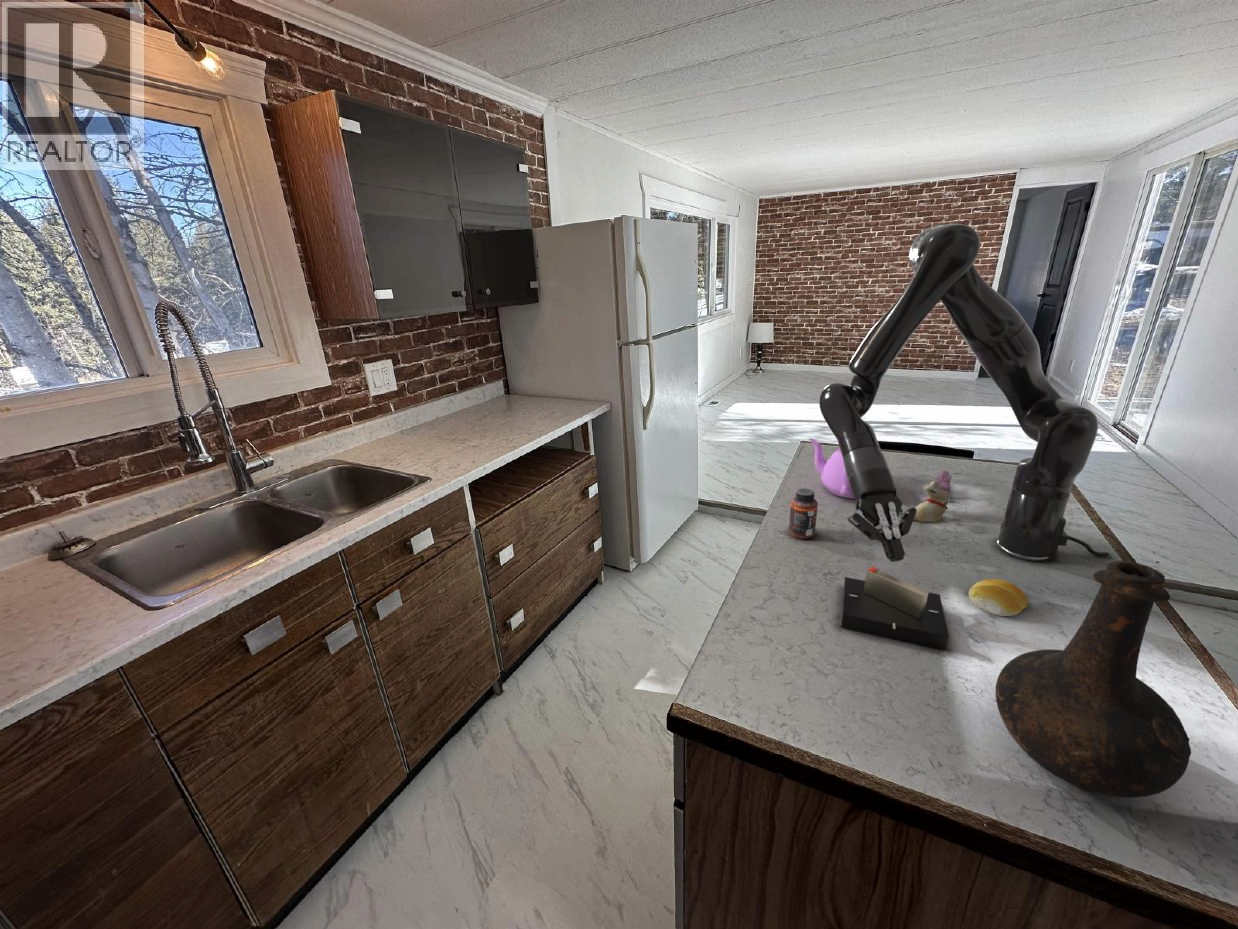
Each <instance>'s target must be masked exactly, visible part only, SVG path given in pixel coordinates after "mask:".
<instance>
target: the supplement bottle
mask: <svg viewBox="0 0 1238 929" xmlns="http://www.w3.org/2000/svg"><path fill="white" fill-rule="evenodd" d="M818 505H819V503H818V500H816V499H815V491H814V490H812V489H811V488H805V487H802V488H801V487H800V488H798V489H796V493H795V496H794V497H792V498H791V501H790V510H789V525H788V532H789V534H790V535H791V536H792V537H794V538H797V539H801V540H806V539H807V540H808V539H811V538H813V537H814V536H815V534H816V525H817V516H818Z"/></svg>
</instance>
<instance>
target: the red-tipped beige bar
mask: <svg viewBox="0 0 1238 929" xmlns="http://www.w3.org/2000/svg"><path fill="white" fill-rule="evenodd" d="M865 573H866V574H865V580H864V581H865V586H864V593H865V594H867V595H869V596H872V597H874V598H876V599H878V600H880V601H882V602H884V603H886V604H888V605H890V606H892V607H894V608H896V609H898V610H901V611H903V612H905V613H907V614H909V615H911V616H913V617H915V618H917V619H920V618H922V617H923V616H924V611H925V607H926V602H927V597H928V592H929V591H927V590H925V589H922V588H921V587H918V586H916V585H914V584H912V583H909V582H907V581H904V580H901V579H899V578H897V577H895V576H892V574H891V575H890V574H888V573H885V572H884V571H881V570H879V569H878V568H876V567H874V566H871V567H869V568H868V569H866V572H865Z"/></svg>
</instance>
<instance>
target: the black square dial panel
mask: <svg viewBox="0 0 1238 929" xmlns="http://www.w3.org/2000/svg"><path fill="white" fill-rule="evenodd" d="M843 583H844V584H843V591H842V608H841V624H840V628H841V629H846V630H850V631H855V632H859V633H860V632H861V633H862V634H863V633H864V634H867V635H874V636H877V637H882V638H885V639H886V638H887V639H891V640H895V641H900V642H903V643H908V644H913V645H918V646H923V647H926V648H931V649H936V650H940V651H944V652H945V651H946V650H947V647H948V642H949V638H950V635H949V631H948V626H947V622H946V617H945V612H944V608H943V602H942V599H941V598H942V597H941V594H940V593H934V592H929V591H927V592H928V597H927V602H926V607H925V611H924V616H923V617H922V618H920V619H917V618H915V617H913V616H911V615H909V614H907V613H905V612H903V611H901V610H898V609H896V608H894V607H892V606H890V605H888V604H886V603H884V602H882V601H880V600H878V599H876V598H874V597H872V596H869V595H867V594H865V593H864V586H865V580H863V579H857V578H851V577H847V576H845V577H844V582H843Z"/></svg>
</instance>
